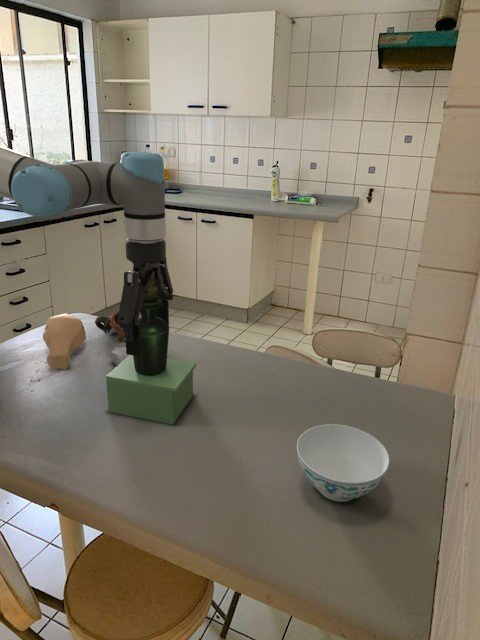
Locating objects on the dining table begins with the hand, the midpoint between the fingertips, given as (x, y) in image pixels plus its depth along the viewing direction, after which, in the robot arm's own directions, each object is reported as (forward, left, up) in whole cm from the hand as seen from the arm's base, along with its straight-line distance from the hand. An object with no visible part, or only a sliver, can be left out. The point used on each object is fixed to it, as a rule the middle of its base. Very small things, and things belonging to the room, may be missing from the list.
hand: (149, 340), depth 96 cm
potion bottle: (0, 0, -7) cm, 7 cm away
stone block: (-11, +16, -15) cm, 25 cm away
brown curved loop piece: (-25, +30, -15) cm, 42 cm away
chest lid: (+1, 0, -7) cm, 7 cm away
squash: (-32, +15, -15) cm, 38 cm away
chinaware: (+41, -14, -15) cm, 46 cm away
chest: (0, 0, -15) cm, 15 cm away
